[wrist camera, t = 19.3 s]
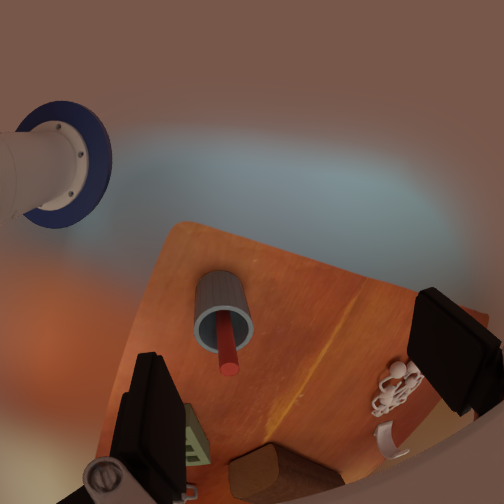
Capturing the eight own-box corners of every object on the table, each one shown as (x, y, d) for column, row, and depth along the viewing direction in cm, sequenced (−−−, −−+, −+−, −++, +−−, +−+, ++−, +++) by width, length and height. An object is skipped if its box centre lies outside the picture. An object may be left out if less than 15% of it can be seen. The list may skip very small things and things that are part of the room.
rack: (182, 446, 57) (182, 466, 52) (159, 406, 52) (157, 429, 46) (209, 443, 58) (210, 463, 52) (189, 403, 52) (189, 426, 46)
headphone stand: (391, 420, 66) (410, 450, 55) (385, 432, 68) (402, 461, 57) (377, 424, 66) (395, 456, 54) (372, 436, 68) (388, 467, 57)
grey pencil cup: (201, 316, 45) (201, 358, 36) (190, 275, 43) (187, 311, 34) (247, 308, 46) (257, 347, 37) (239, 266, 43) (248, 300, 34)
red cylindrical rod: (216, 303, 44) (223, 378, 29) (212, 292, 43) (217, 365, 29) (229, 299, 44) (241, 373, 29) (225, 288, 43) (236, 360, 29)
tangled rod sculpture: (399, 403, 65) (407, 413, 62) (357, 417, 62) (364, 428, 58) (430, 348, 58) (440, 358, 55) (386, 360, 55) (396, 372, 51)
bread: (302, 490, 76) (311, 520, 63) (224, 462, 62) (229, 505, 49) (341, 471, 74) (354, 502, 61) (273, 438, 60) (285, 484, 48)
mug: (162, 484, 64) (162, 502, 58) (162, 476, 62) (162, 495, 56) (196, 487, 66) (197, 505, 60) (198, 479, 64) (199, 498, 58)
